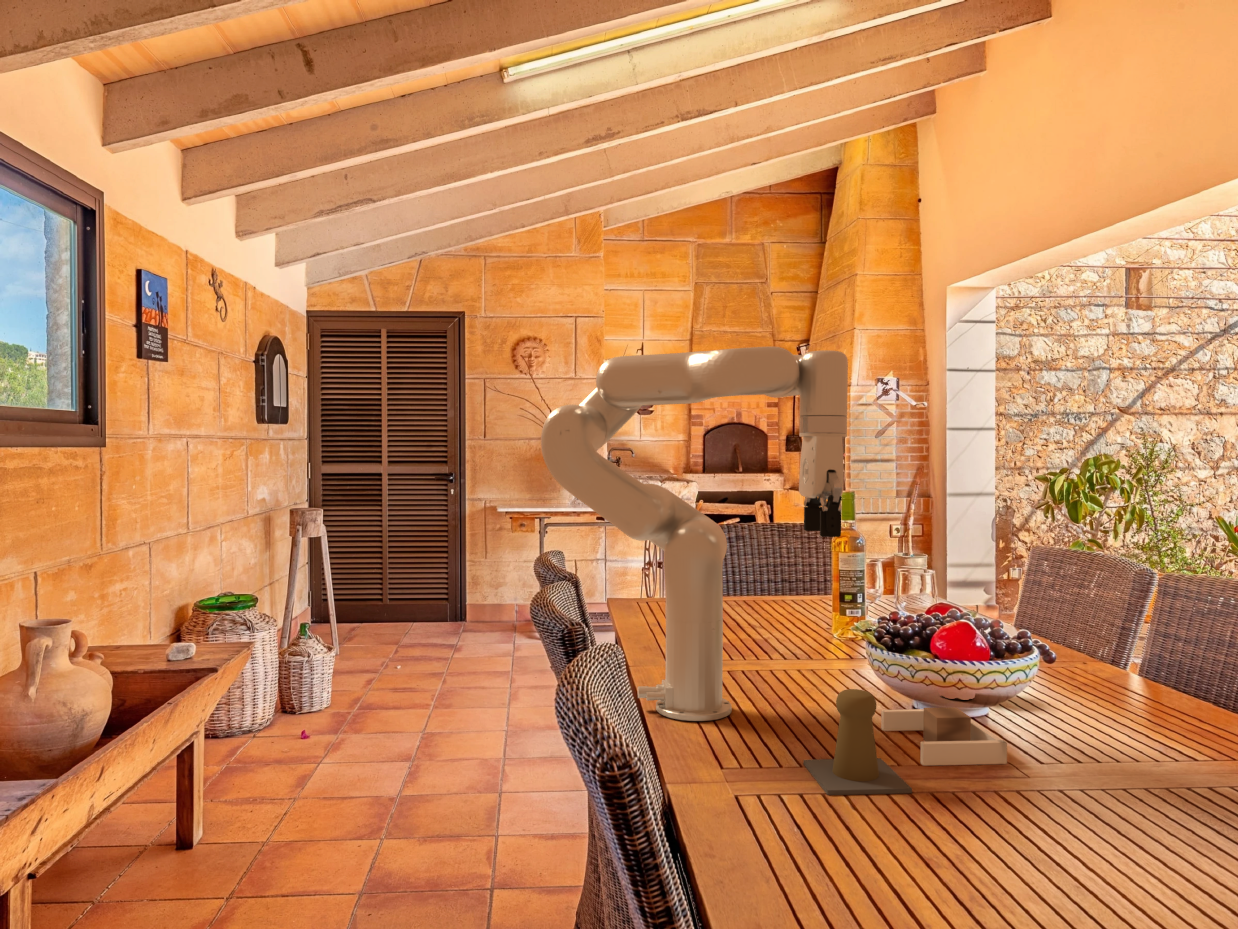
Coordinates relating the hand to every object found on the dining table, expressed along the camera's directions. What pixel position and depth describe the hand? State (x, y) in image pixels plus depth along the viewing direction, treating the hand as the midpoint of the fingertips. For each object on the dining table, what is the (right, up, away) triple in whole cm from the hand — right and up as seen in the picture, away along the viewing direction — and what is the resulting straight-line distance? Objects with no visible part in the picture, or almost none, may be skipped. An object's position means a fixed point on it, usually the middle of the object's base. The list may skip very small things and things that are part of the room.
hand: (821, 533), depth 143 cm
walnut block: (+16, -31, -12) cm, 36 cm away
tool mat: (-1, -31, -25) cm, 40 cm away
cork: (-1, -30, -25) cm, 39 cm away
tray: (+14, -31, -12) cm, 36 cm away
